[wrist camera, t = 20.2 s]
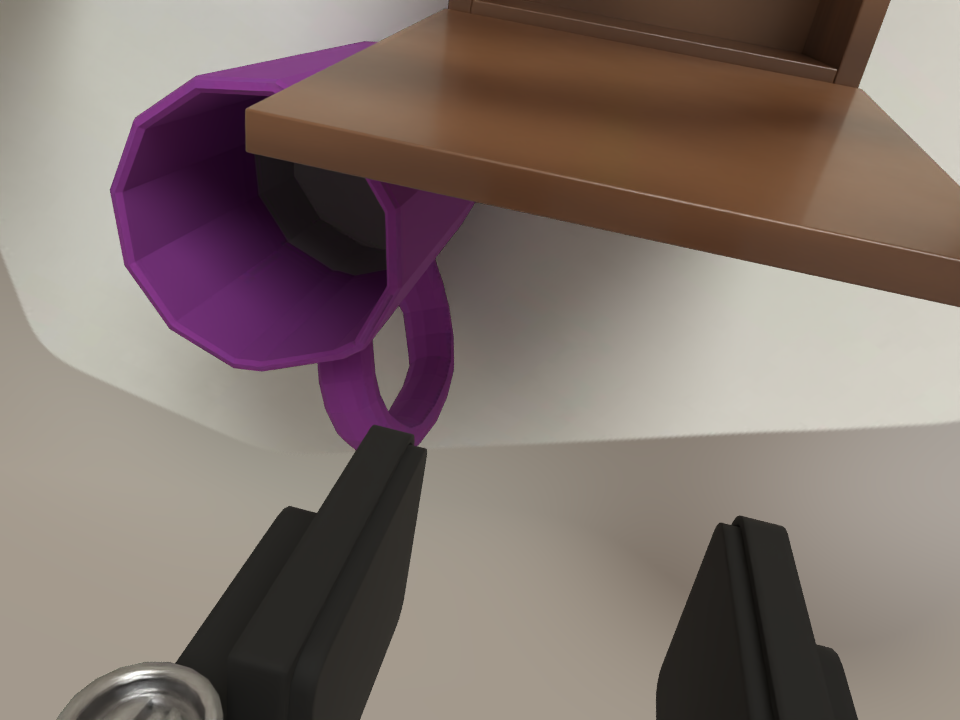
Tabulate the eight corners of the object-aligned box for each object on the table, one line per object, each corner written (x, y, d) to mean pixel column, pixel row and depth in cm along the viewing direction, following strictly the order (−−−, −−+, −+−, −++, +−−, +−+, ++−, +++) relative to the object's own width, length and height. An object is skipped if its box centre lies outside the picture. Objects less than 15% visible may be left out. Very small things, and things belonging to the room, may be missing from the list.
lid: (243, 108, 14) (244, 152, 14) (1056, 279, 12) (1029, 323, 13) (444, 8, 26) (441, 33, 26) (862, 89, 24) (852, 114, 25)
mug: (466, 12, 33) (344, 32, 20) (546, 343, 39) (493, 530, 25) (275, 66, 35) (52, 117, 22) (377, 369, 41) (249, 552, 28)
